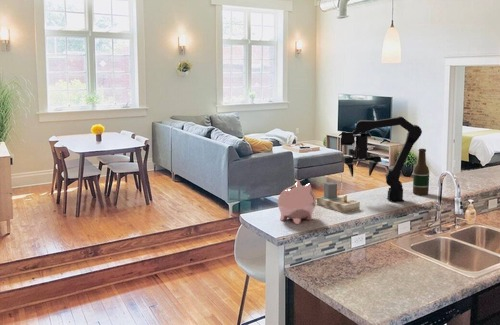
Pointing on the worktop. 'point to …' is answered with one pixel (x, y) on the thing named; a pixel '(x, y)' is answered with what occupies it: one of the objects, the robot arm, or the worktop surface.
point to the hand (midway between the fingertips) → (361, 176)
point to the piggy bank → (297, 203)
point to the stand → (338, 204)
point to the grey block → (330, 190)
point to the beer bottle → (421, 175)
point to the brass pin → (345, 198)
